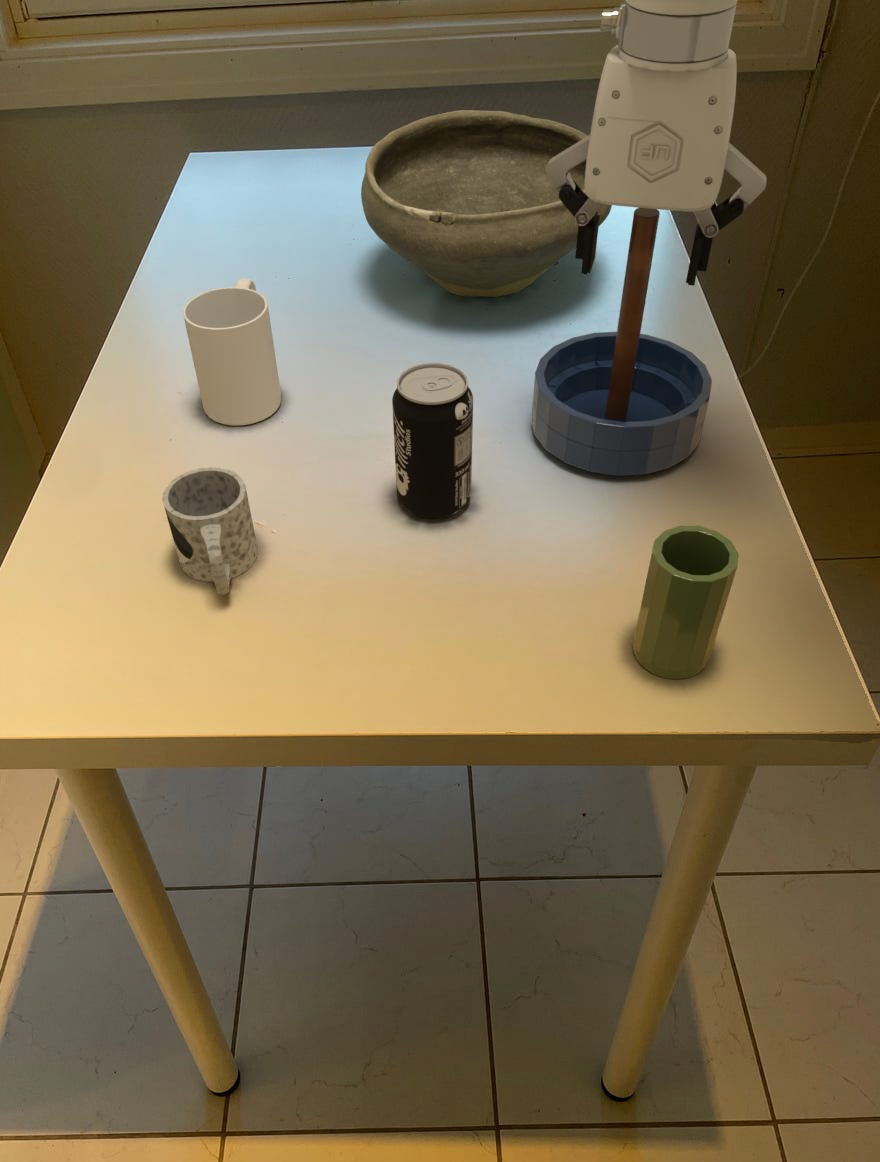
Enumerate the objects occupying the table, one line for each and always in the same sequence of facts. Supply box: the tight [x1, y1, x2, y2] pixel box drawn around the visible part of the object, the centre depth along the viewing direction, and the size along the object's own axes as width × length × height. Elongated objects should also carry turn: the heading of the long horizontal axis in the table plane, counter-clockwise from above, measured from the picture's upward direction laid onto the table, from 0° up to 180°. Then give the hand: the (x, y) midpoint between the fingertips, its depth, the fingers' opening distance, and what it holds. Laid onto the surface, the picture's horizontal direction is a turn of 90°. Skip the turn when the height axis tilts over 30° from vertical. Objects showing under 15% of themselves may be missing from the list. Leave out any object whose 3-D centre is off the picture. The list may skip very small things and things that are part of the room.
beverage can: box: [391, 362, 474, 520], centre depth 81 cm, size 7×7×12 cm
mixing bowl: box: [531, 331, 713, 477], centre depth 89 cm, size 16×16×6 cm
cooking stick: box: [605, 207, 661, 422], centre depth 84 cm, size 2×2×20 cm
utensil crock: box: [632, 525, 740, 680], centre depth 69 cm, size 6×6×10 cm
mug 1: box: [182, 277, 282, 426], centre depth 94 cm, size 12×8×10 cm, turn 172°
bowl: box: [360, 109, 613, 298], centre depth 108 cm, size 28×28×14 cm
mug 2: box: [161, 466, 259, 595], centre depth 78 cm, size 10×7×7 cm, turn 13°
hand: (639, 271), depth 80 cm, fingers open, 8 cm apart
